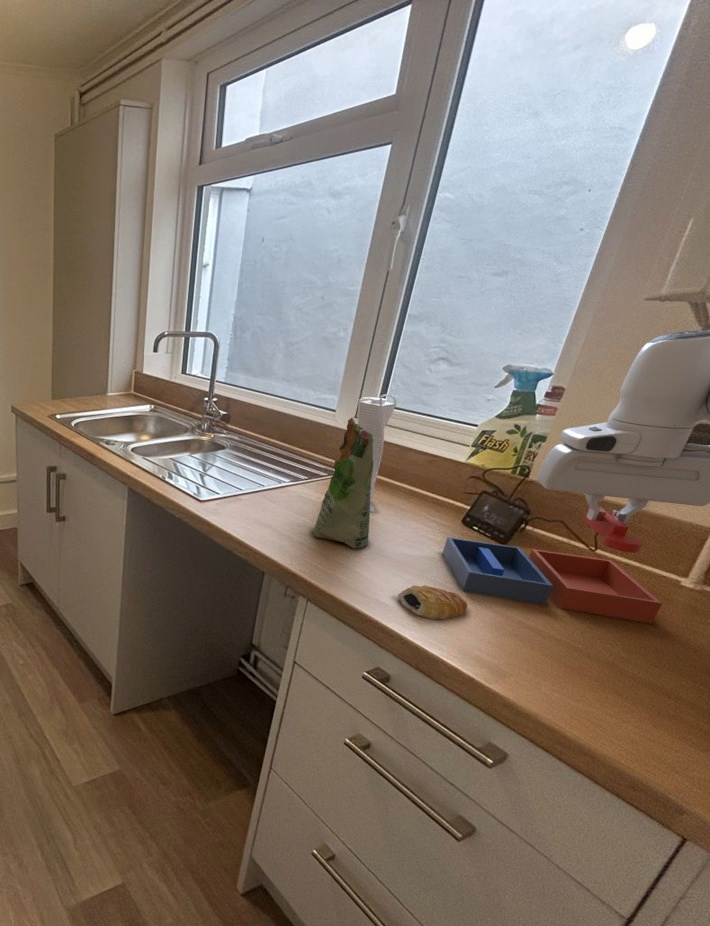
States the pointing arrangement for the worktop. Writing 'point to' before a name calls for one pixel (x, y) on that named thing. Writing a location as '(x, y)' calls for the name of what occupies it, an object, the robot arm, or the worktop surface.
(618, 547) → the red spoon
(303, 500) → the worktop surface
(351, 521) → the pouch
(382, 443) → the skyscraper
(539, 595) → the blue bin
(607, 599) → the red bin
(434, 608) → the pastry
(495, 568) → the blue spoon
